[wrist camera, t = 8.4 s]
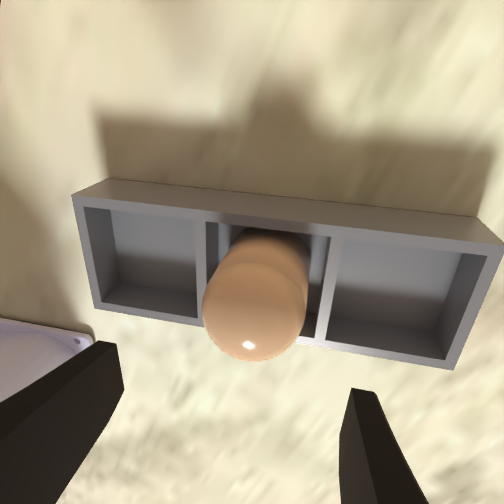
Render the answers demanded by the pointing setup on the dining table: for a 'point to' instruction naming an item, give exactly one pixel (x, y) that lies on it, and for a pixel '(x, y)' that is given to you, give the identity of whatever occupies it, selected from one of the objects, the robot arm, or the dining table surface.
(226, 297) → the egg
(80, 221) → the egg holder
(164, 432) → the dining table surface
